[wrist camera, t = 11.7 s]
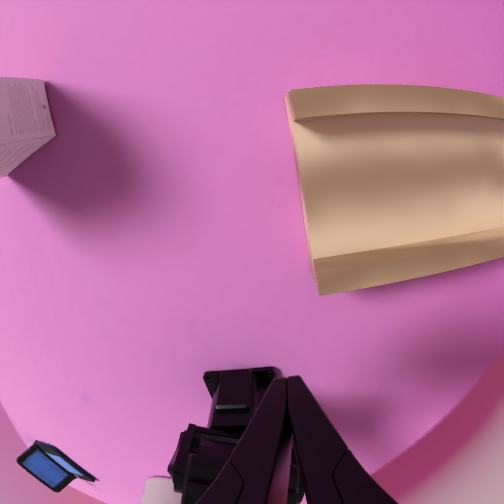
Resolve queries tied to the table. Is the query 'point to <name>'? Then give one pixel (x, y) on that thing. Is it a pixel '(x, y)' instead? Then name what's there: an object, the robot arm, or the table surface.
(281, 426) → the robot arm
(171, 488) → the cylinder vase
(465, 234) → the tan curved flanged bracket
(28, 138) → the small box
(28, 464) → the handheld game console
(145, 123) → the table surface
